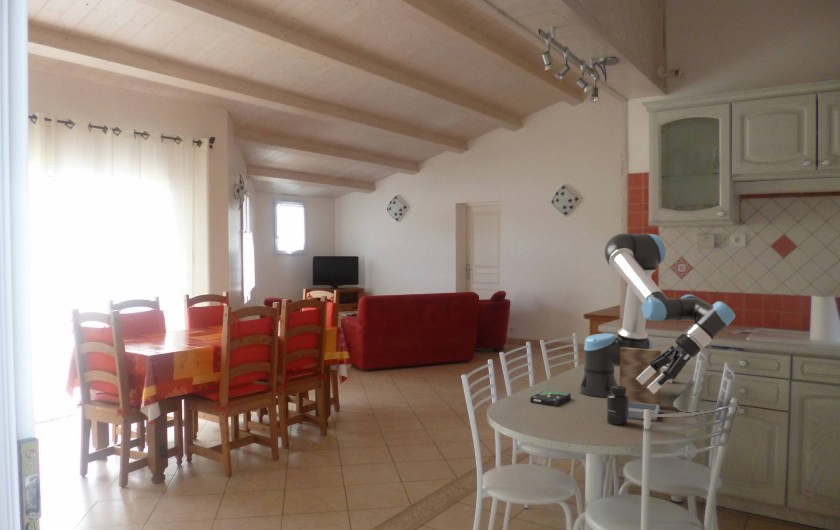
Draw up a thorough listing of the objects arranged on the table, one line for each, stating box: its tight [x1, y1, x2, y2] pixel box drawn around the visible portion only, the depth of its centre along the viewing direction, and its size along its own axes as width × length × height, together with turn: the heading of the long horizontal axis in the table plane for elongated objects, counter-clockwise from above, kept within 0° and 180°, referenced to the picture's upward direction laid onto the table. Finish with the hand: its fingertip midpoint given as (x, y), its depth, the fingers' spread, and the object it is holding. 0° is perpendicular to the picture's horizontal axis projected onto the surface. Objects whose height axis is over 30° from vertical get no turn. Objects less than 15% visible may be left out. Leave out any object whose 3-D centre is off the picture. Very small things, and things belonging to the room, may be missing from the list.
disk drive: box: [529, 390, 572, 408], centre depth 230 cm, size 10×3×15 cm
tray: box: [628, 402, 660, 422], centre depth 212 cm, size 14×14×2 cm
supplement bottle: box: [606, 385, 629, 427], centre depth 201 cm, size 7×7×12 cm
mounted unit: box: [619, 347, 662, 410], centre depth 225 cm, size 14×6×21 cm, turn 64°
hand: (644, 386), depth 199 cm, fingers open, 13 cm apart
